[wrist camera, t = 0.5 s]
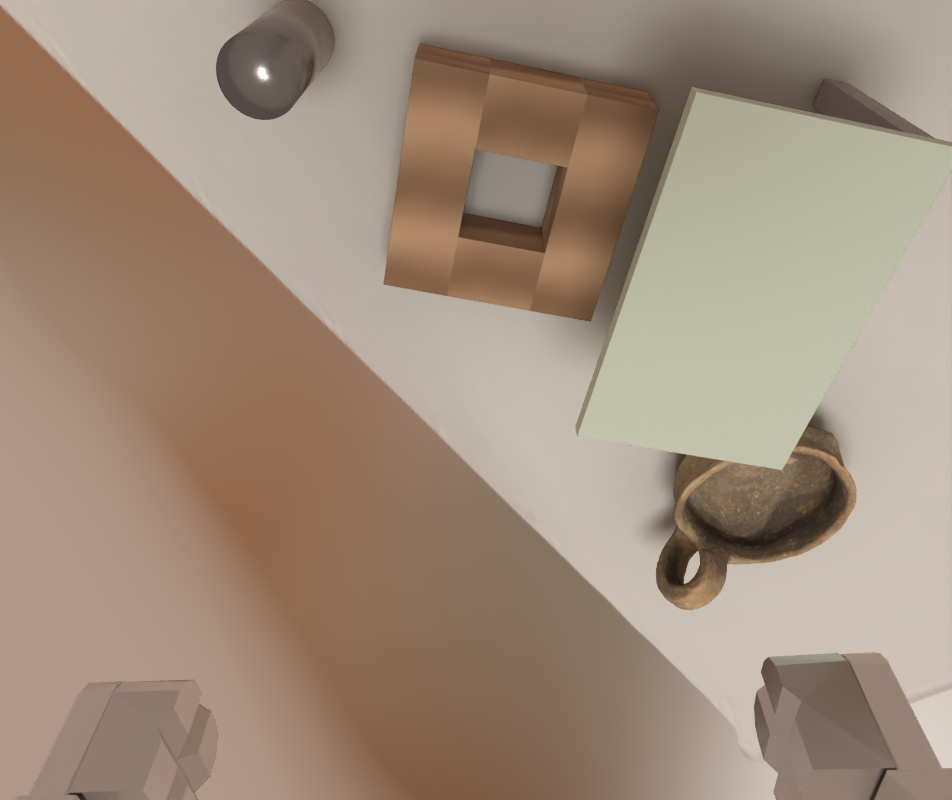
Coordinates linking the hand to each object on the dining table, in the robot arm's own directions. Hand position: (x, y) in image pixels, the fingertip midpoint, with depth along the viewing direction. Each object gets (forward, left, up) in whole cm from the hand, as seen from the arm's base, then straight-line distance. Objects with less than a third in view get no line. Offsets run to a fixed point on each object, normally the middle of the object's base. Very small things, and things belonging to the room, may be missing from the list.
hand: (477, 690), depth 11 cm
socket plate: (+7, +3, -42) cm, 43 cm away
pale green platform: (+7, +16, -42) cm, 46 cm away
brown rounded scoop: (+28, +27, -43) cm, 57 cm away
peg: (+1, -11, -42) cm, 44 cm away
